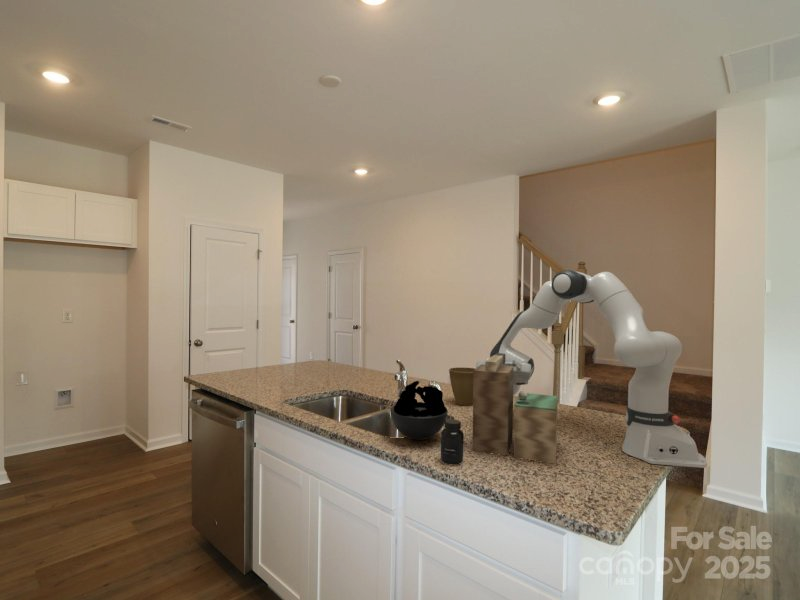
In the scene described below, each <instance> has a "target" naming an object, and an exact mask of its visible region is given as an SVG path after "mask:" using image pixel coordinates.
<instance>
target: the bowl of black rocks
mask: <svg viewBox="0 0 800 600" xmlns="http://www.w3.org/2000/svg"><path fill="white" fill-rule="evenodd" d="M419 384H420V381H419V380H415V381H412V382H411V383H409V384H407V385H406V386H405V387H404V390H403V391H402V392H401V394H400V395H399V397H398V399H397V400H396V403H395V404H394V405H393V406H391V408H390V410H389V411H390V417H391V420H392V423H393V425H394V427H395V428H396V429H397V431H398V432H399V433H401V434H402V435H403V436H405V437H406V438H409V439H411V440H412V439H413V440H419V441H420V440H421V441H422V440H426V439H430V438H432V437H434V436H436V434H438V433H439V432H440V431H441V430H443V427H444V426H445V420H447V419H448V418H447V417H448V408H447V407H446V406H445V403H444V400H443V396H444V394H443V391H442V390H440V389H438V387H436V386H434V387H433V386H432V385H431V386H430V385H429V386H428V385H424V386H423V387H421V386H418V385H419ZM417 395H419V397H420V399H421V400H422V401H418V399H417V398H416V397H417Z"/></svg>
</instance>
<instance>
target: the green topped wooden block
mask: <svg viewBox="0 0 800 600" xmlns="http://www.w3.org/2000/svg"><path fill="white" fill-rule="evenodd" d="M517 394H518V397H517V399H516V401H515V403H514V406H513V458H514V457H516V458H515V459H518V458H523V459H522V460H524V459H530V460H529V461H531V460H536V461H535V462H538V461H543V462H542V463H544V462H549V463H548V464H551V463H554V464H553V465H556V463H557V461H556V459H557V446H558V395H550V394H539V393H538V394H537V393H529V392H526V391H525V390H521V391H518V393H517Z"/></svg>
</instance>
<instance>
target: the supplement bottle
mask: <svg viewBox="0 0 800 600" xmlns="http://www.w3.org/2000/svg"><path fill="white" fill-rule="evenodd" d="M461 426H462V424H461V420H458V419H452V418H451V419H450V418H449V419H446V420H445V424H444V426H443V427H444V428H442V429H441V430H442V431H441V433H440V460H441V462H442V463H443V462H444V463H443V464H445V463H446V465H449V464H458V465H460V464H459V463H461V462H462V463H463V461H464V446H465V445H464V441H465V440H464V439H465V436H464V434H465V433H464V432H463V431H462V429H461V428H462V427H461ZM462 463H461V464H462Z"/></svg>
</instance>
